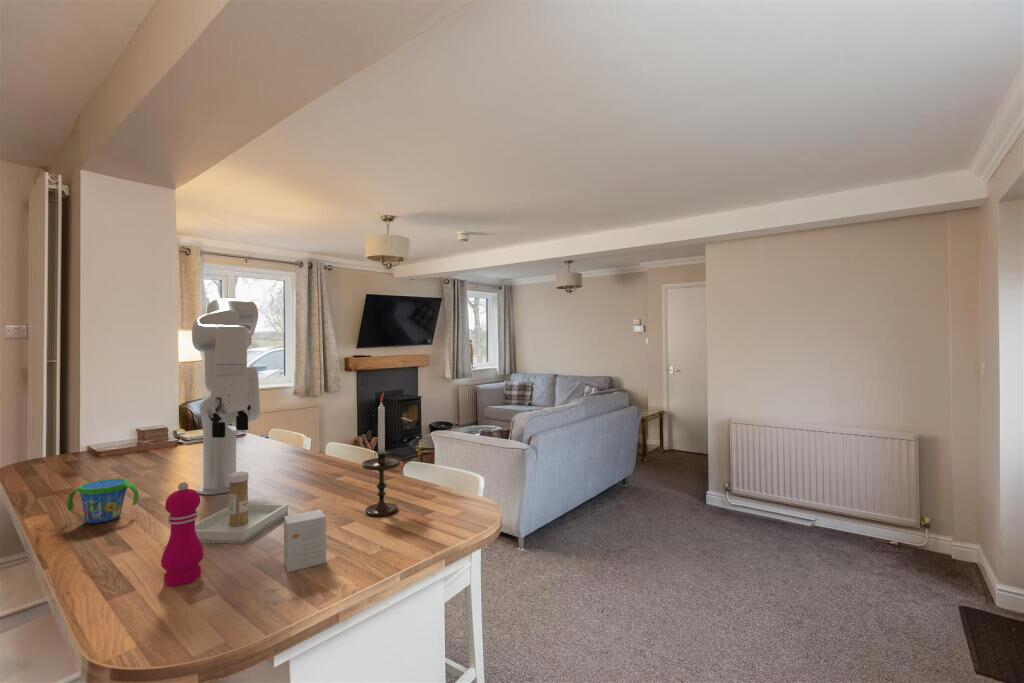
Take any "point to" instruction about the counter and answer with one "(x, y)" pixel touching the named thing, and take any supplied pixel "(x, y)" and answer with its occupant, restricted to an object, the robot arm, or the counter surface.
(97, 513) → the snack cup
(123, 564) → the counter surface
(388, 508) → the candlestick
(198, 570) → the pepper mill
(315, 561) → the small box
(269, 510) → the tray
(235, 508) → the sprinkles bottle
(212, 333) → the robot arm
